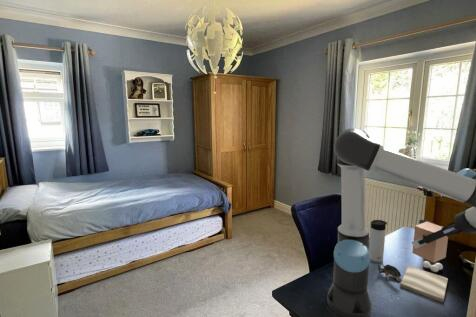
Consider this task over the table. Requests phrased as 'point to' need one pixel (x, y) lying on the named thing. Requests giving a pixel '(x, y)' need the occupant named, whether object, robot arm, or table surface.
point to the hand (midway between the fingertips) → (420, 242)
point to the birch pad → (424, 283)
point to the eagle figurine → (390, 271)
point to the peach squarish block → (433, 249)
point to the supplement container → (424, 221)
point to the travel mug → (377, 241)
